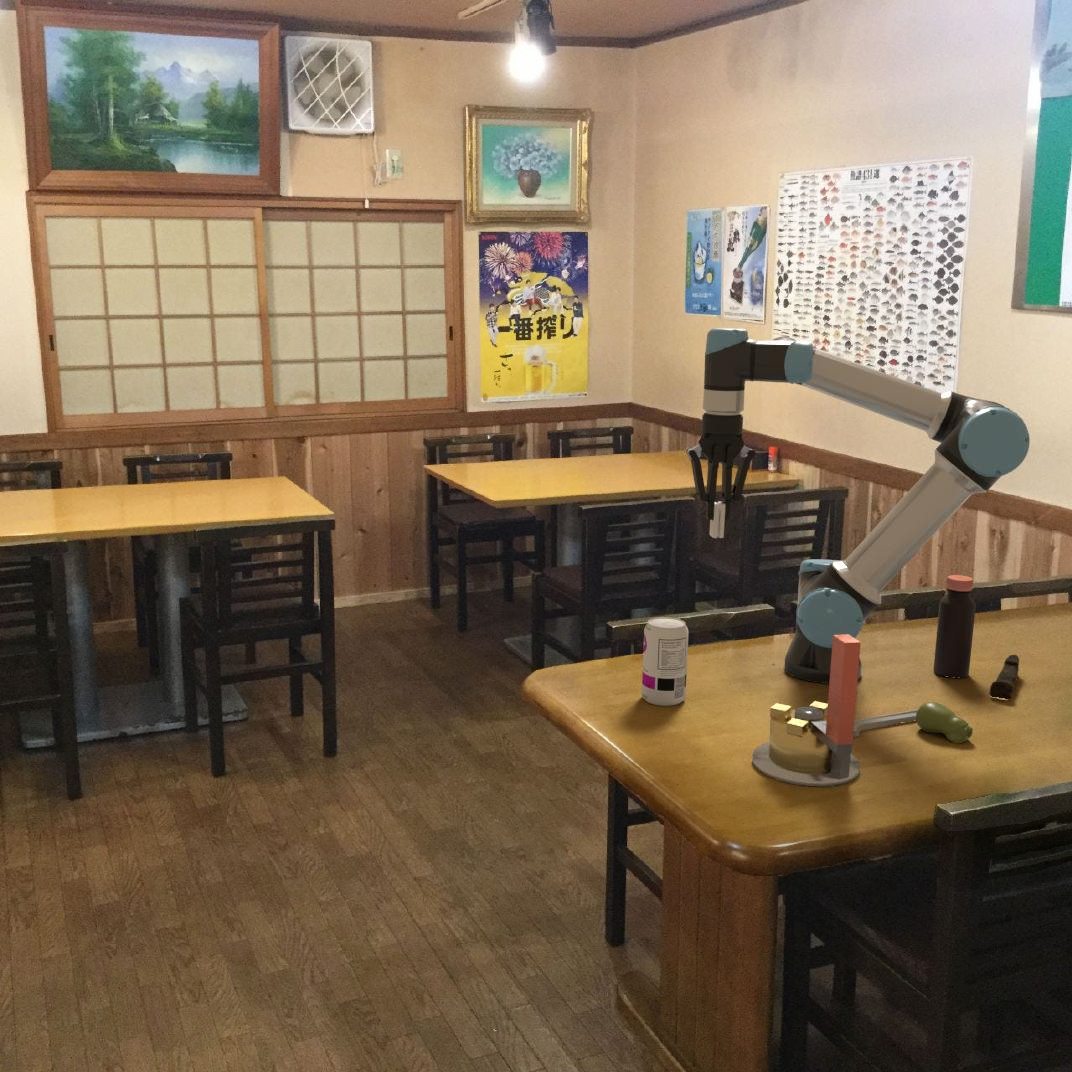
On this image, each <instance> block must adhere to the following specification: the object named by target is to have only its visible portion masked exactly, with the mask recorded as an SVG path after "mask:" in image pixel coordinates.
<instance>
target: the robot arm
mask: <svg viewBox="0 0 1072 1072" xmlns="http://www.w3.org/2000/svg"><path fill="white" fill-rule="evenodd" d="M703 376H704V377H703V378H704V381H703V400H702V409H703V411H705V412H703V414H702V416H701V417H702V418H701V435H700V439H699V440H698V444H697V445H695V446H693V447H692V448H689V447H688V448H687V449H686V450H685V451H686V452H685V453H686V455H687V456H688V458H689V460H690V463H691V468H692V476H693V481H694V482H693V483H694V488H695V494H696V498H698V499H699V500H700V501H703V502H705V518H706V520H709V536H710V537H712V538H713V539H718V538H719V539H724V538H725V536H724V535H725V521H727V520H728V521H729V520H730V516H731V504H732V503H733V502H735V501H740V500H741V498H742V495H743V494H742V493H743V490H744V487H745V483H746V479H747V476H748V471H749V468H750V464H751V462H752V461H753V459H754V457H755V456H756V450H754V449H752V448H750V447H748V446H747V445H745V441H744V439H743V429H744V428H743V427H744V415H743V414H742V412H743V411H744V410H745V409H744V408H745V390H746V389H745V387H746V382H763V383H765V382H767V383H768V382H769V383H789V384H790V385H791V384H792V385H794V384H796V385H800V386H802V387H805V388H808V389H809V390H812V391H816V392H819V393H820V394H823V395H827V396H829V397H832V398H835V399H837V400H840V401H842V402H846V403H849V404H851V405H854V406H857V407H859V408H862V409H864V410H868V411H870V412H872V413H875V414H878V415H881V416H883V417H886V418H889V419H890V420H894V421H897V422H899V423H903V424H905V425H908V426H911V427H913V428H916V429H918V430H921V431H924V432H926V435H927V436H928V438H929V439H930V440H933V441H936V442H938V443H940V444H939V445H938V446H936V448H935V449H934V463H932V465H931V466H930V467H929V468H928V470H927V471H925V473H924V474H923V475H922V476H921V477H920V478H919V479H918V481H916V482H915V484H914V485H912V486H911V488H910V489H909V490H908V491H907V492H906V493H905V495H904V496H903V497H902V498H901V499H900V500H899V501H898V502H897V503H896V504H895V505H894V506H893V508H891V509H890V511H889V512H888V513H887V514H886V515H885V516H884V518H882V519H881V521H880V522H879V523H878V524H877V525H876V526H875V527H874V528H873V529H872V530H871V532H870V533H869V534H868V535H867V536H866V537H865V538H864V539H863V540H862V541H861V542H860V543H859V545H858V546H857V547H856V548H855V549H854V550H853V551H852V552H851V553H850V554H849V555H848V556H847V558H846V559H843V560H836V559H833V560H832V559H822V558H821V559H820V558H819V559H817V558H816V559H804V560H803V561H802V562H801V563H800V566H799V571H798V576H799V577H798V590H797V607H796V612H795V615H796V622H795V625H796V626H795V633H794V635H793V637H792V640H791V643H790V645H789V647H788V650H787V652H786V653H785V654H786V655H785V657H784V665H783V666H784V667H783V668H784V671H785V672H786V673H787V674H788V675H790V676H791V677H793V678H797V679H799V680H804V681H807V682H813V683H820V684H829V683H830V670H831V657H832V643H833V635H845V634H849V635H850V636H852V637H853V638H855V639H857V637H858V635H859V634H860V632H861V631H862V629H863V626H864V622H865V621H866V620H867V619H868V618H869V616H870V615H871V614H872V613H873V612H874V611H875V610H876V609H877V608H878V607H879V606H880V605H881V604H882V595H881V593H882V590H884V588H885V587H886V586H887V585H888V584H889V583H890V582H891V580H892V581H893V579H894V578H895V577H896V575H898V573H900V571H901V570H902V569H903V568H905V566H906V565H907V564H908V563H909V562H910V561H911V560H912V559H913V558H914V557H915V555H916V554H917V553H918V552H919V551H920V550H921V549H922V548H923V547H924V546H925V545H926V544H927V543H928V541H929V540H931V539H932V537H933V536H934V535H935V534H936V533H937V532H938V531H939V530H940V529H941V528H942V527H943V526H944V525H945V524H946V522H948V520H949V519H950V518H951V517H952V516H953V515H955V513H956V512H957V511H958V510H959V509H960V508H961V507H962V506H963V504H964V503H966V501H967V500H969V498H971V496H972V495H975V494H982V493H983V494H984V493H987V492H988V491H989V490H990V489H991V488H992V487H993V486H994V485H995V484H996V483H997V481H998V480H999V479H1000V478H1001V477H1003V476H1006V475H1008V474H1010V473H1012V472H1013V471H1015V470H1016V469H1017V468H1019V466H1021V464H1022V463H1023V462H1024V460H1025V459H1026V458H1027V455H1028V452H1029V451H1030V449H1029V448H1030V440H1031V439H1030V434H1029V430H1028V427H1027V425H1026V423H1025V421H1024V420H1023V419H1022V417H1021V416H1020V415H1018V413H1017V412H1015V411H1013V410H1012V409H1010V408H1008V407H1006V406H1004V405H1003V404H1001V403H999V402H995V401H991V400H986V399H980V398H976V397H971V396H967V395H963V394H961V393H957V392H954V391H952V390H948V391H946V392H943V393H942V392H938V391H936V390H933V389H930V388H927V387H925V386H921V385H919V384H916V383H913V382H912V381H911V382H910V381H908V380H905V379H902V378H900V377H896V376H894V375H891V374H889V373H886V372H882V371H880V370H877V369H874V368H871V367H868V366H866V365H863V364H861V363H858V362H855V361H852V360H851V359H847V358H844V357H841V356H839V355H836V354H832V353H830V352H827V351H824V350H822V349H819V348H815V347H814V345H813V343H812V342H811V341H810V342H809V341H800V340H796V339H794V338H791V337H788V336H778V337H775V338H773V339H772V340H756V339H749V334H748V330H747V329H744V328H735V327H734V328H733V327H714V328H712V329H710V330H709V331H708V332H707V334H706V343H705V351H704V374H703ZM701 452H702V453H703V455H704V456H705V457H706V459H707V474H706V475H707V477H706V487H705V480H704V476H703V469H702V463H701V460H700V458H701V456H702V453H701ZM739 454H740V460H739V462H738V467H737V470H736V472H735V473H736V474H735V477H734V481H733V467H734V460H735V458H736V457H737V456H738V455H739ZM720 463H721V467H722V469H721V470H722V471H721V501H717V502H716V497H717V484H718V472H719V466H720ZM732 483H733V484H732ZM862 670H863V669H862V661H861V656H859V669H858V680H859V679H860V678H861V677H862Z"/></svg>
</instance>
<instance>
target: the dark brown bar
mask: <svg viewBox="0 0 1072 1072" xmlns="http://www.w3.org/2000/svg"><path fill="white" fill-rule="evenodd" d="M1019 665H1020V658H1019V656H1018V655H1016V654H1011V655H1008V657H1006V659H1005V660H1004V663H1003V667H1002V668H1001V671H1000V673H999V674H998V676H997V678H996V680H995V681H993V682H992V683H991V685H990V688H989V696H990V697H991V696H992V697H999V698H1005V699H1011V698H1012V694H1013V692H1014V687H1015V684H1016V682H1017V681H1016V679H1017V680H1018V677H1019V676H1018V675H1019V671H1020V670H1019ZM992 697H991V698H992Z"/></svg>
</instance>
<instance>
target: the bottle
mask: <svg viewBox="0 0 1072 1072" xmlns="http://www.w3.org/2000/svg"><path fill="white" fill-rule="evenodd" d="M973 584H974V578H973V577H970V576H968V575H961V574H951V575H948V576H947V577H946V586H945V587H946V591H947V594H945V596H943V597H942V598H941V599H940V601H939V609H938V617H937V618H938V619H937V626H936V627H937V629H936V639H935V650H934V651H935V652H934V660H933V661H934V662H933V671H934V672H933V673H935V674H936V673H937V674H936V675H938V676H940V675H941V676H940V677H943V676H948V677H955V678H954V679H963V678H962V677H965V678H966V676H967V677H968V676H969V674H970V667H971V666H970V665H971V655H972V649H973V648H972V645H973V639H974V637H973V636H974V625H975V615H976V607H977V605H976V603H975V601H974V600H973V598H972V597H971V593H972V592H973V587H974V585H973ZM948 677H947V678H948ZM958 677H960V678H958Z"/></svg>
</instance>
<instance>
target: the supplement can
mask: <svg viewBox="0 0 1072 1072" xmlns="http://www.w3.org/2000/svg"><path fill="white" fill-rule="evenodd" d="M688 647H689V629H688V627H687V625H686V622H685V621H684V620H682V619H679V618H677V617H676V618H675V617H667V616H665V617H664V616H662V617H661V616H659V617H652V618H650V619H648V620H647V623H646V625H645V627H644V630H643V648H642V649H643V654H642V673H641V674H642V678H641V697H642V698H643V699H644V700H645V701H646V702H647V703H649V704H652V705H656V706H662V707H663V706H664V707H671V706H676V705H679V704H681V703H682V702H683V701H684V700H686V696H687V695H686V693H687V692H686V691H687V689H686V688H687V674H688V673H687V670H688V653H689V652H688V649H689V648H688Z"/></svg>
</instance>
